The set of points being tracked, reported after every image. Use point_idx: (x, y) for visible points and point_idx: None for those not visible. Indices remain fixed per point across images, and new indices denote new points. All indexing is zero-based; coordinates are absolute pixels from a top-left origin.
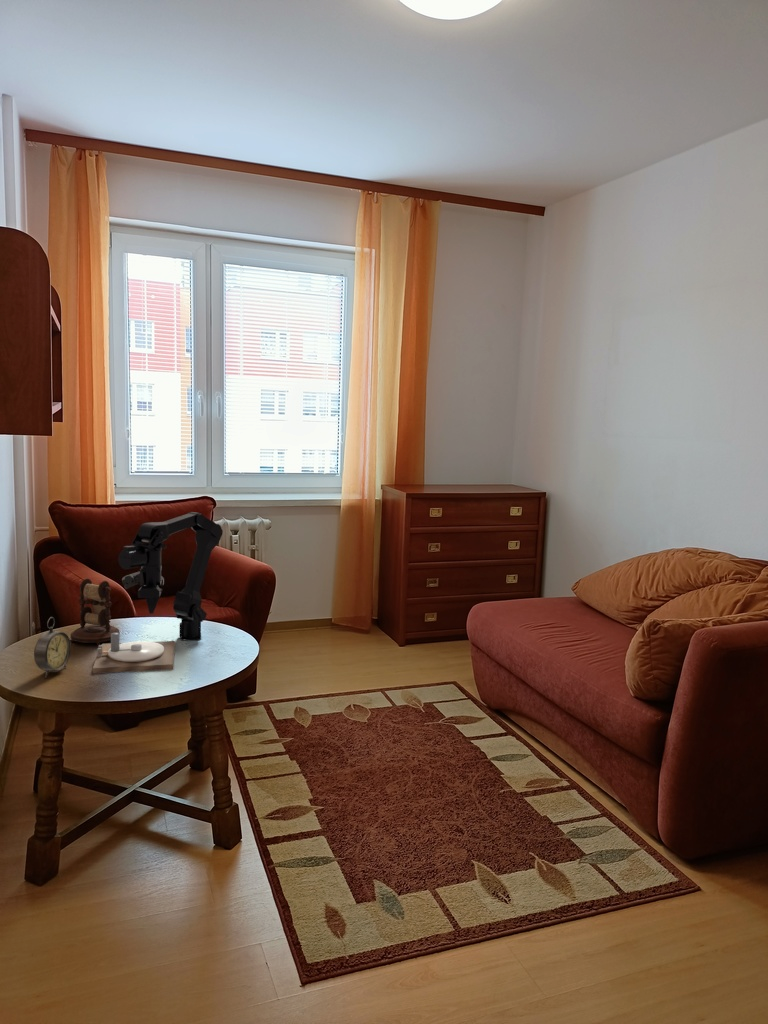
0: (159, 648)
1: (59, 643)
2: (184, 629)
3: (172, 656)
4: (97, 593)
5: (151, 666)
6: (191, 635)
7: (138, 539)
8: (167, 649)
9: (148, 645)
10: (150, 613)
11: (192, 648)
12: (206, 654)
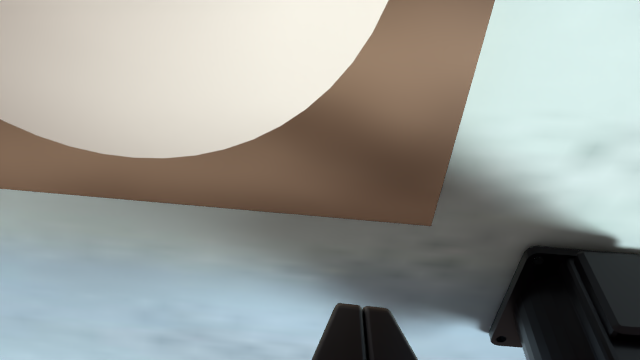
0: (126, 123)
1: None
2: (573, 322)
3: (43, 183)
4: None
5: None
6: (520, 319)
7: None
8: (218, 164)
9: (228, 32)
10: (334, 311)
11: (326, 282)
12: (196, 327)
